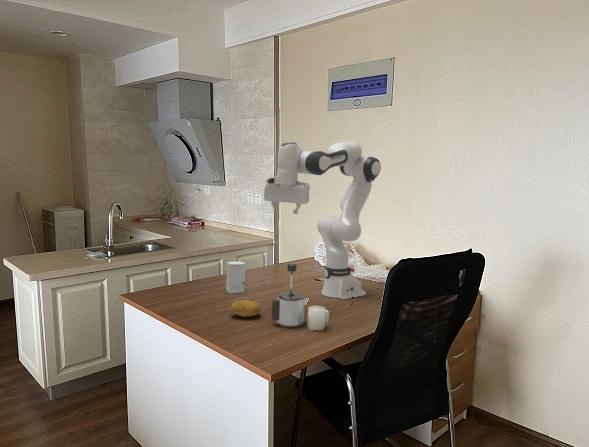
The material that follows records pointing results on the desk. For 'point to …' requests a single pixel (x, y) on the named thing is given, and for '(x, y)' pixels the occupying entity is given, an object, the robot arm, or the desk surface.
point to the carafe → (288, 309)
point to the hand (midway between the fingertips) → (285, 212)
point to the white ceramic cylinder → (317, 317)
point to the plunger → (291, 276)
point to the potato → (246, 308)
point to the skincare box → (235, 277)
